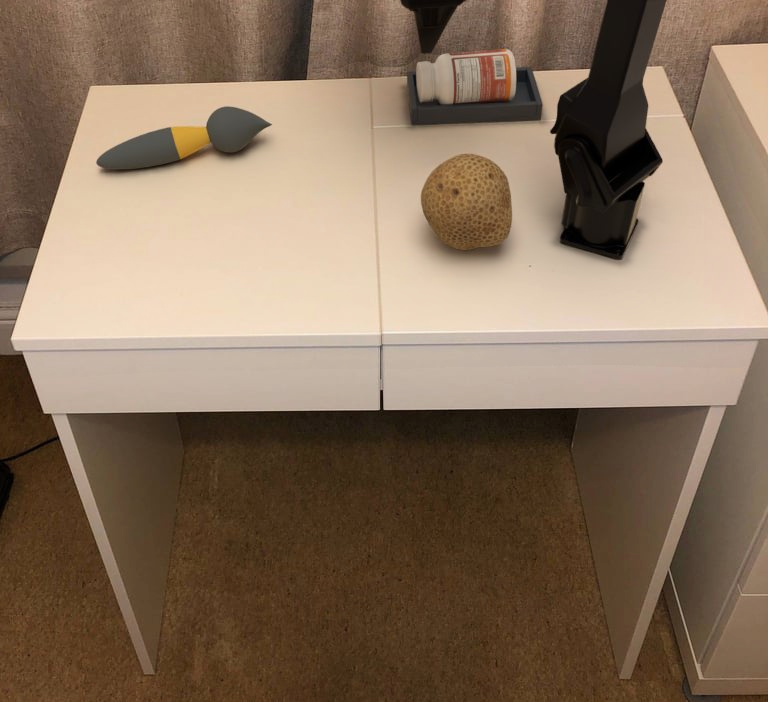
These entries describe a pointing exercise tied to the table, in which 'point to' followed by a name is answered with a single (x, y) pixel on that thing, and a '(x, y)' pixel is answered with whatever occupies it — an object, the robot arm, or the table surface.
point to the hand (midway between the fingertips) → (419, 30)
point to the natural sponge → (468, 202)
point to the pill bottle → (468, 78)
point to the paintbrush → (185, 140)
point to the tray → (479, 105)
